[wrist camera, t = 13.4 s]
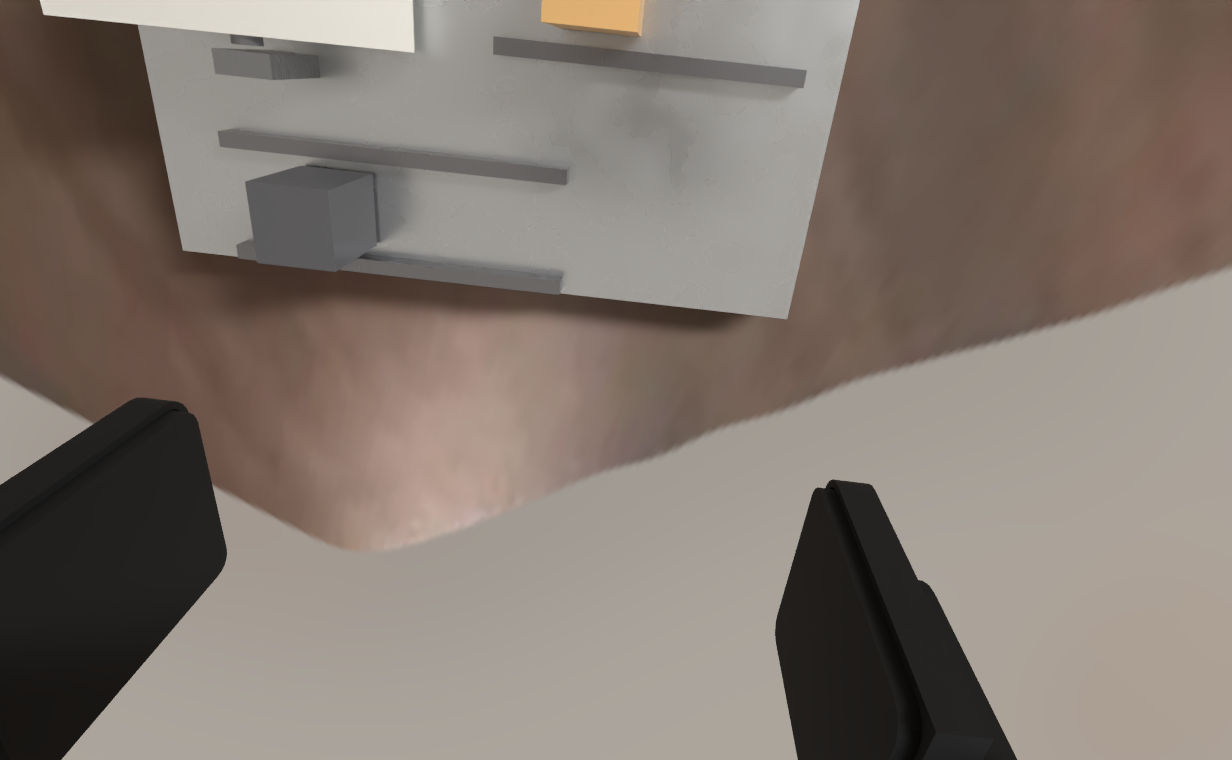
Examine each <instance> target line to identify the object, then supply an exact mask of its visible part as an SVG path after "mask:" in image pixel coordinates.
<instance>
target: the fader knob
mask: <svg viewBox="0 0 1232 760" xmlns="http://www.w3.org/2000/svg"><path fill="white" fill-rule="evenodd" d="M245 186H246V192H247V199H248V205H249V212H250V219H251V225H252V232H253V239H254V245H255V252H256V259H257V263H261V264H270V265H278V266H287V267H296V268H305V269H314V270H322V271H331V272H336V271H338V270H340V269H341V268H343V267H344V266H346V265H347V264H349V263H350V262H352V261H353V260H355V259H357V258H358V257H360V256H361V255H363V254H364V253H366V252H367V251H369V250H371V249H372V248H374V247H375V246H377V236H376V221H375V206H374V191H373V176H372V174H371V173H362V172H353V171H344V170H335V169H326V168H317V167H308V166H298V167H294V168H291V169H287V170H284V171H280V172H277V173H273V174H270V175H266V176H263V177H259V178H256V179H252V180H249V181H245Z"/></svg>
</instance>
